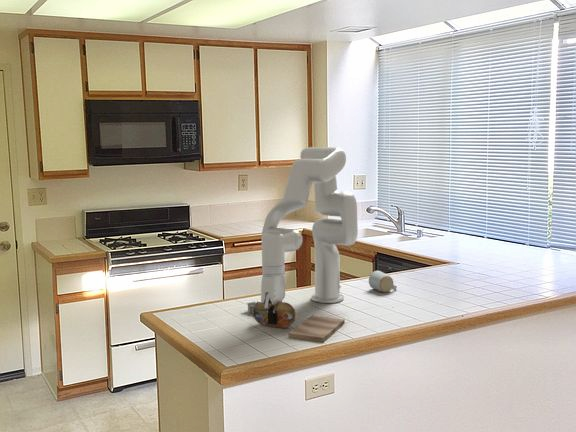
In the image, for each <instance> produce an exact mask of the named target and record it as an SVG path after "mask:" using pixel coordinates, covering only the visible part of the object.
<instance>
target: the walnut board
mask: <svg viewBox="0 0 576 432" xmlns="http://www.w3.org/2000/svg"><path fill="white" fill-rule="evenodd" d="M345 323H346V321H345V319H344V318H337V317H329V316H321V315H320V316H319V315H313V314H312V315H311V316H309V317H308V318H307V319H306V320H304V321H303V322H300V324H298V325H297V326H296V327H295V328H294V329H292V330H291V331H289V333H288V338H289V339H299V340H306V341H312V342H320V343H325V342H326V341H327V340H328V339H329V338H330V337H332V336H333V334H335V333H336V332H337V331H338V330H339V329H340V328H342V327H343V326H344V325H345ZM343 324H344V325H343Z"/></svg>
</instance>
